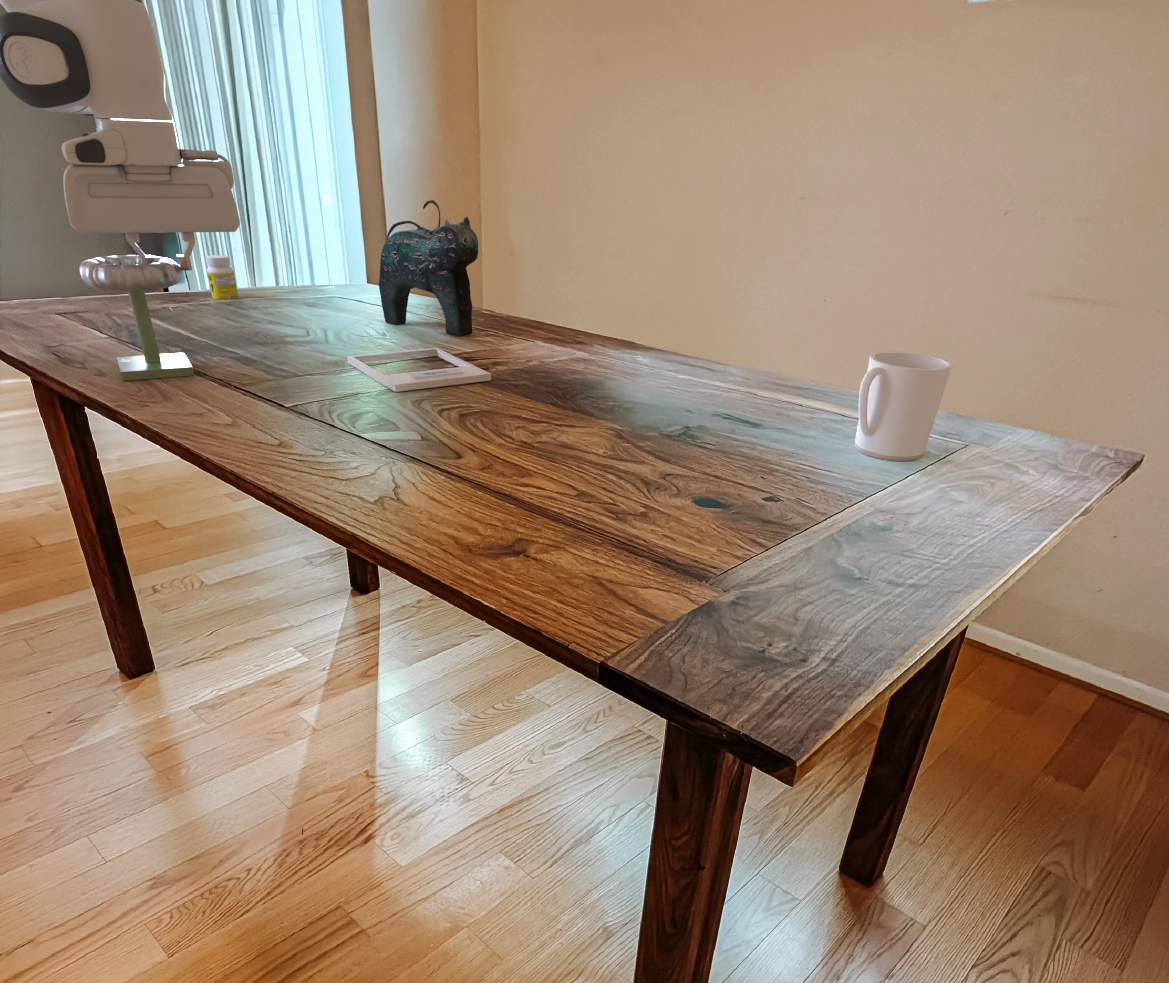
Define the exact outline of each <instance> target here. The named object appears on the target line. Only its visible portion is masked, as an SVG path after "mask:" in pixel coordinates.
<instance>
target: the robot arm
mask: <svg viewBox="0 0 1169 983" xmlns="http://www.w3.org/2000/svg"><path fill="white" fill-rule="evenodd" d="M0 5H1V6H2V7H3V9H5V11H6V13H4V14H2V15H1V16H0V79H1V81H2V82H3V84H4V86H6V88H7V89H8V90H9V92H11V93H12V94H13V95H14V96H15V97H16V98H17V99H18V100H19V101H21V102H23V103H25V105H29V106H30V107H33V108H36V109H38V110H41V111H45V112H52V113H61V114H62V113H63V114H68V115H69V114H71V115H83V116H88V117H92V118H94V122H95V127H96V129H95V132H91V133H89V132H86V133H82V134H80V135H81V136H79V137H75V138H72V139H69V140H66V141H64V142H63V143H62V144H61V153H62V156H63V158H64V160H65V161H66V162H67V163H70V164H68V165H67V166H66V167H65V168H64V171H63V177H62V184H63V185H62V186H63V194H64V195H63V196H64V201H65V208H66V213H67V217H68V222H69V225H70V226H71V228H73V229H74V230H75V231H76V232H77V233H79V234H125V237H126V241H127V243H128V244H129V245H130V246H131V247H132V249H133V250H134V251H135V253H136V255H139V256H140V257H141V261H142V264H149V263H155V262H154V257H153V256H154V255H151V254H145V252H144V251H143V250H142V249H141V248H140V246H139V245H138V244H137V243H141V239H140V235H139V234H142V233H143V234H145V233H148V234H149V233H150V234H151V233H180V236H181V239H182V241H183V242H185V245H184V249H183V251H182V254H175V256H176V260H177V262H178V263H177V265H178V266H179V267H180V269H181V272H185V271H187V272H188V271H193V266H192V261H191V256H192V253H193V250H194V247H195V245H196V238H195V233H235V232H237V230H238V229H239V228H240V225H241V220H240V216H239V212H238V207H237V203H236V200H235V197H234V193H233V190H232V189H233V187H234V184H235V178H234V173H233V168H232V164H231V163H230V161H229V160H228V159H227V158H226V157H225V156H223V155H222V154H219V153H218V152H217V151H216V150H211V149H207V150H198V149H197V150H196V149H186V148H185V149H183V148H182V149H181V148H180V146H179V141H178V136H177V131H176V126H175V122H174V117H173V114H172V112H171V110H170V108H169V105H168V102H167V99H166V75H165V71H164V66H163V62H162V58H161V53H160V49H159V46H158V45H159V44H158V40H157V37H156V33H155V31H154V27H153V23H152V21H151V17H150V15H149V12H148V9H147V7H146V6H145V4H144V2H143V1H142V0H0ZM219 159H220V160H219Z"/></svg>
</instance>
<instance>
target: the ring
mask: <svg viewBox="0 0 1169 983" xmlns="http://www.w3.org/2000/svg"><path fill="white" fill-rule="evenodd" d="M152 256H153V257H154V262H155V263H149V264H142V261H141V257H140V256H139V255H138V254H124V255H123V254H122V255H119V254H118V255H107V256H106V255H105V256H96V257H92V258H89V259H85V260H83V261H81V263H80V264H79V266H78V267H79V270H78V271H79V276H80V278H81V280H82V281H83V282H84V284H86V285H87V286H88V287H91V288H94V289H98V290H104V291H117V292H118V291H120V292H128V291H140V290H144V291H153V290H162V289H167V288H170V287H173V286H176V285H178V284H179V283H180V282H181V281H182V278H183V271H181V269H180V267H179V265H178V263H177V262H176V261H174V260H173V259H171V258H168V257H164V256H157V255H152Z"/></svg>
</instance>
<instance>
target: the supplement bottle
mask: <svg viewBox="0 0 1169 983" xmlns="http://www.w3.org/2000/svg"><path fill="white" fill-rule="evenodd" d="M205 259H206V264H207V266H208V267H207V269H206V274H207V279H208V283H209V289H210V293H211V298H212V299H214V300H234V299H238V298H239V292H238V286H237V282H236V276H235V271H234V269H233V268H232V266H231V260H230V256H229V255H223V254H212V255H211V254H210V255H207V256H206V257H205Z"/></svg>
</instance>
